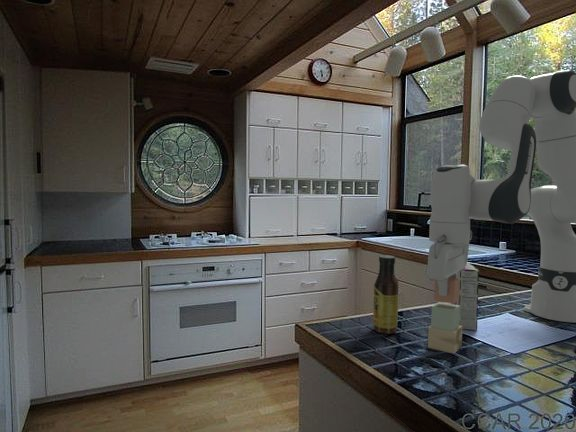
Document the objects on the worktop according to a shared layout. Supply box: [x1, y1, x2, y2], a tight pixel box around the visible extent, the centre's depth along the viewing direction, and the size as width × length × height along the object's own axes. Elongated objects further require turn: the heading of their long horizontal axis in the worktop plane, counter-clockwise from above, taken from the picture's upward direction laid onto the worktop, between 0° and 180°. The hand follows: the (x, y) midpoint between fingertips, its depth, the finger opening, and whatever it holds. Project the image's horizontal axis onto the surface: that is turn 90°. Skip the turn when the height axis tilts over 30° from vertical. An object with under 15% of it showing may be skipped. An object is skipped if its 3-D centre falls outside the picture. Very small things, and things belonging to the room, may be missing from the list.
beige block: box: [427, 325, 463, 354], centre depth 101 cm, size 6×6×5 cm
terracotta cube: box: [433, 277, 460, 304], centre depth 100 cm, size 4×4×5 cm
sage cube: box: [430, 301, 460, 332], centre depth 100 cm, size 5×5×5 cm
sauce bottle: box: [372, 254, 399, 335], centre depth 111 cm, size 7×6×20 cm
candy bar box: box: [454, 262, 480, 331], centre depth 118 cm, size 11×5×16 cm, turn 168°
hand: (447, 292), depth 100 cm, fingers closed on terracotta cube, 4 cm apart
